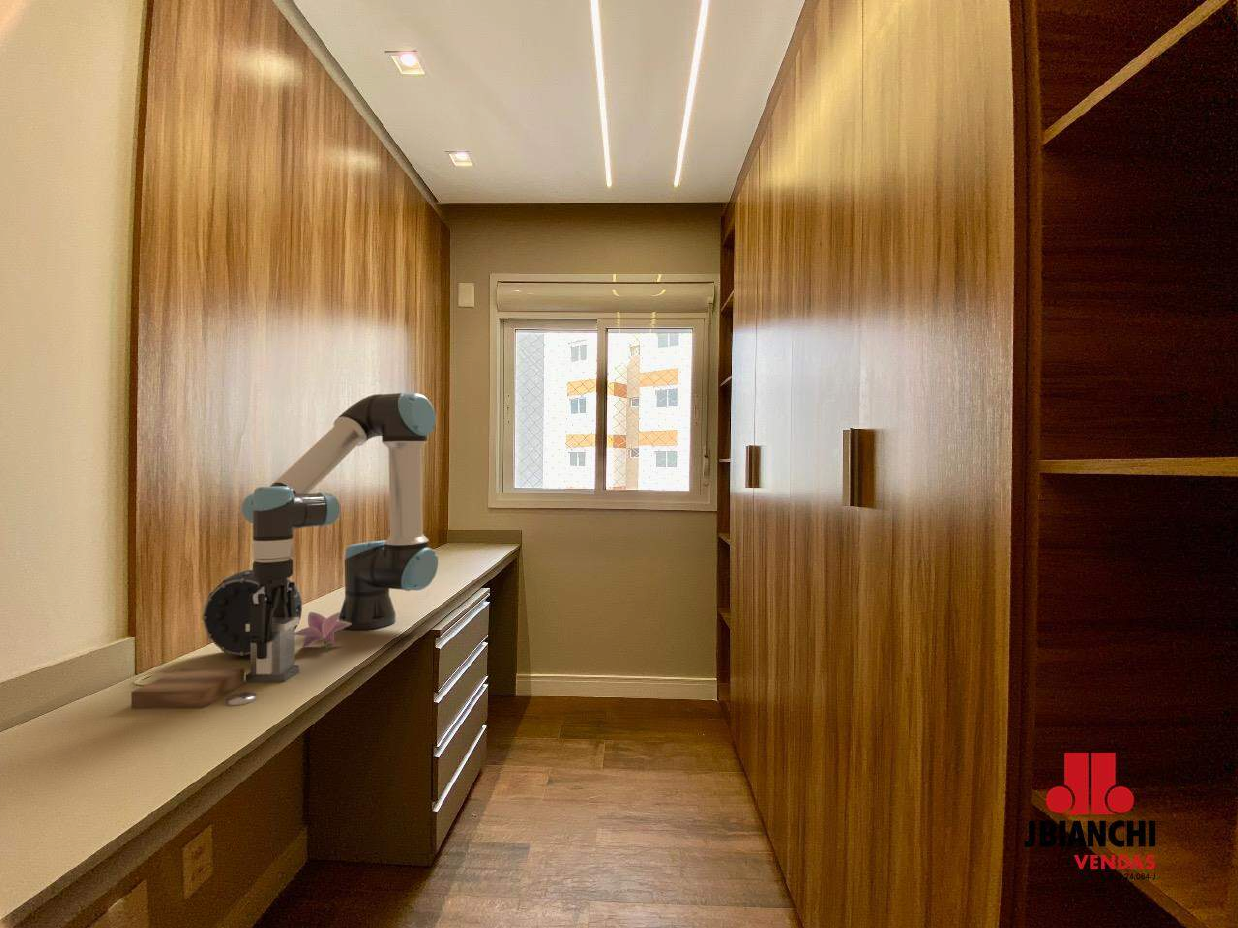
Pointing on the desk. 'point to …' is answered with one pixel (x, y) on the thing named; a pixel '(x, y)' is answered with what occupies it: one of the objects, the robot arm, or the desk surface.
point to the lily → (321, 628)
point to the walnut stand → (188, 688)
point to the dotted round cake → (235, 613)
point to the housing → (277, 652)
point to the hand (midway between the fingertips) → (272, 667)
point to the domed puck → (241, 698)
